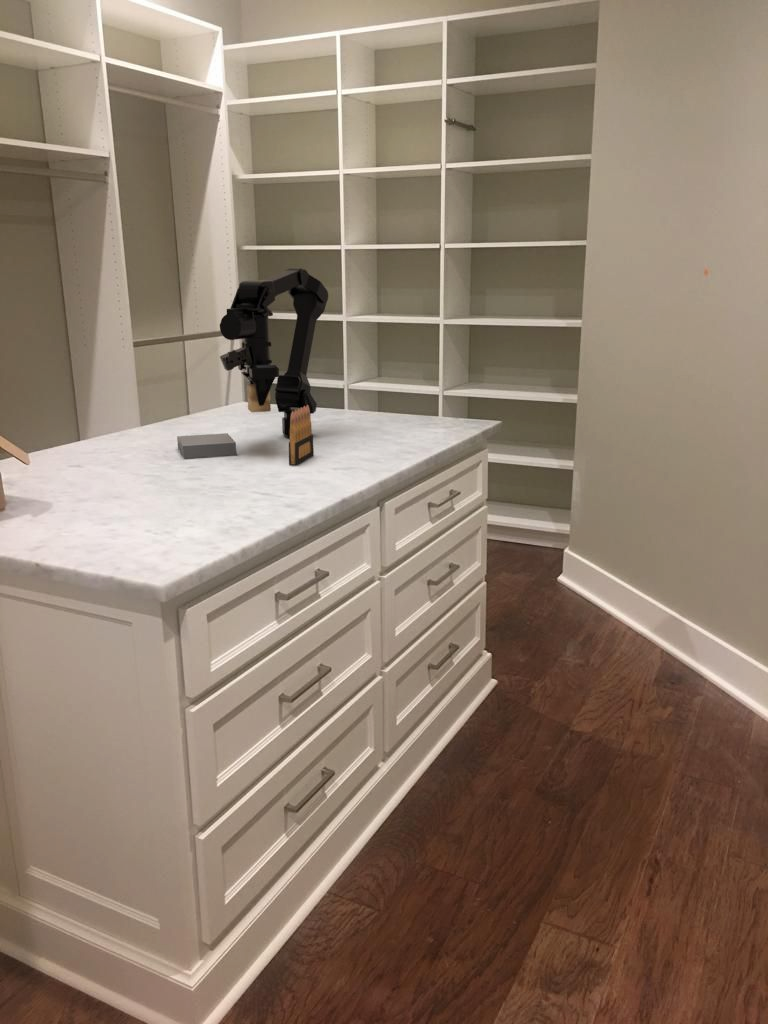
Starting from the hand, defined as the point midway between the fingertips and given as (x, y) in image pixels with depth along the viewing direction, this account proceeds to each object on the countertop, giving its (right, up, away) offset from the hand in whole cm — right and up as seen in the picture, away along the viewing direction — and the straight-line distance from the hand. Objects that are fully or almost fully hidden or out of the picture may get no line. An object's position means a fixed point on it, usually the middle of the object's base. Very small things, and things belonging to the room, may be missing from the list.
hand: (259, 403), depth 200 cm
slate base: (-12, -11, -1) cm, 17 cm away
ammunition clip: (+11, -14, -9) cm, 20 cm away
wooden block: (0, -1, 0) cm, 2 cm away
